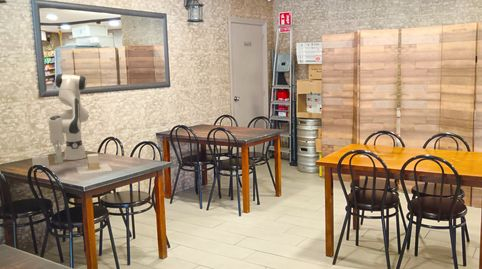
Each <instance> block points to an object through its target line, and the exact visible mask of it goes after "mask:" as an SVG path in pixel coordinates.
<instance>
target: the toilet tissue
mask: <svg viewBox="0 0 482 269" xmlns="http://www.w3.org/2000/svg"><path fill="white" fill-rule="evenodd" d="M31 162H32V167H33V166H34V165H42V166H45V167H47V168H49V169H50V161H49V155H46V154H39V155H35V156H32V158H31ZM32 170H33V169H32ZM33 171H34V170H33ZM33 171H32V172H33ZM36 173H42V171H41V170H37V172H36Z"/></svg>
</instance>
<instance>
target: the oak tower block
mask: <svg viewBox="0 0 482 269" xmlns="http://www.w3.org/2000/svg"><path fill="white" fill-rule="evenodd" d="M99 165H100V161H99V162H97V163H88V162H87V166H88V169H89V170H97V169H100V166H99Z"/></svg>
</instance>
